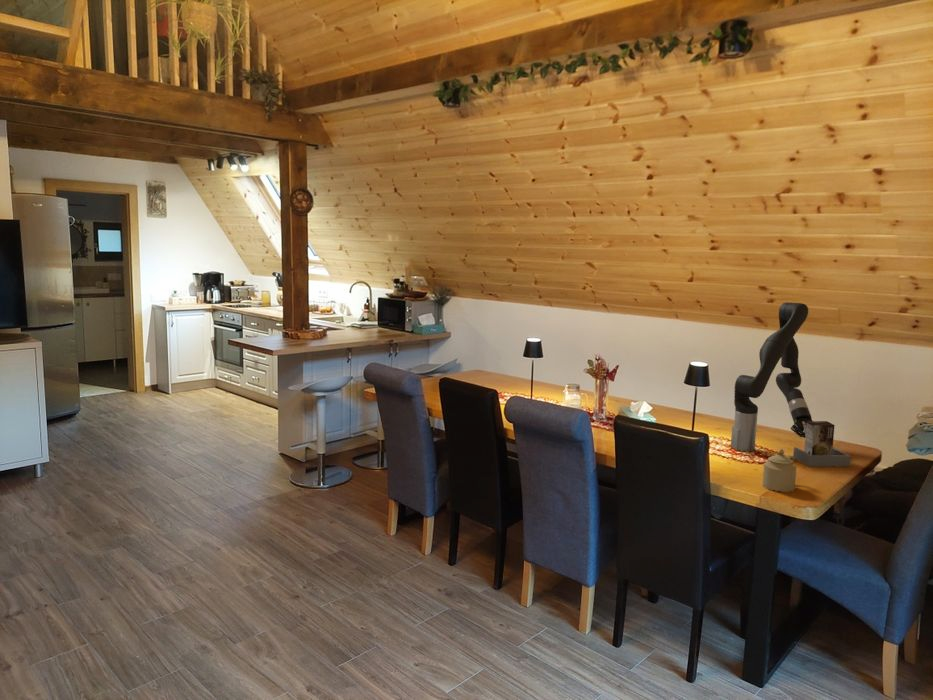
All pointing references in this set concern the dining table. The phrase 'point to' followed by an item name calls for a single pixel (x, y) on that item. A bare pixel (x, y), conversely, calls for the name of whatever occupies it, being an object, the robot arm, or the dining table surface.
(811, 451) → the coffee box
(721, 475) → the dining table surface
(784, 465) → the sugar bowl
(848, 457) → the box
